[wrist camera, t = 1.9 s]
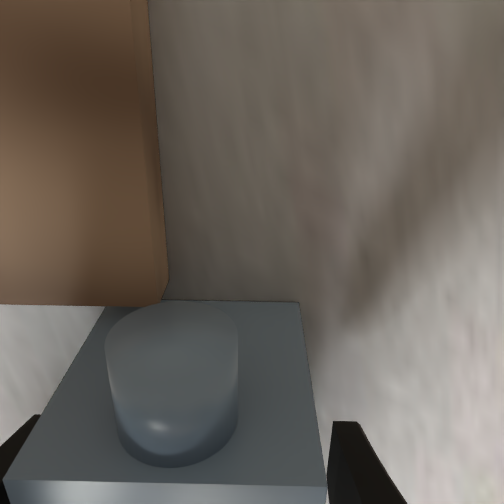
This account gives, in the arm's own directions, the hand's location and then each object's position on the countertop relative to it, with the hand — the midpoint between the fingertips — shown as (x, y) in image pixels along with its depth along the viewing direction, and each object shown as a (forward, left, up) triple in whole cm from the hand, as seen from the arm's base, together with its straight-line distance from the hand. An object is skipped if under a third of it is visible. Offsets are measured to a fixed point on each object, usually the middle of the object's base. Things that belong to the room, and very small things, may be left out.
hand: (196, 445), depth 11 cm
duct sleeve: (0, 0, -3) cm, 3 cm away
